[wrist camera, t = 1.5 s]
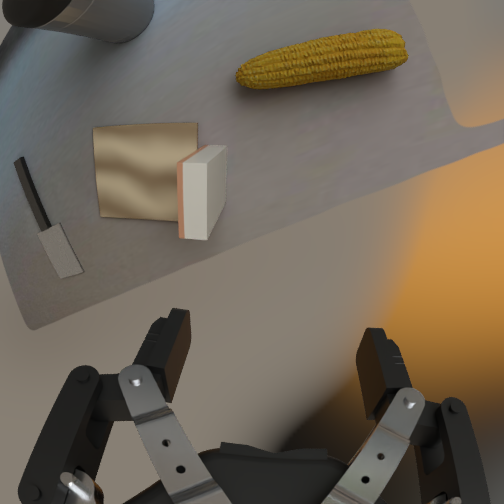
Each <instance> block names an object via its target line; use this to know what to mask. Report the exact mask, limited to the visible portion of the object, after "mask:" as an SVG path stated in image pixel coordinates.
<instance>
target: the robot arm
mask: <svg viewBox="0 0 504 504" xmlns="http://www.w3.org/2000/svg"><path fill="white" fill-rule="evenodd" d="M2 8H3V14H4V17H5V19H6V20H7V21H8V22H9V23H10V24H12V25H14V26H17V27H25V28H34V29H42V30H49V31H56V32H62V33H68V34H74V35H79V36H84V37H89V38H94V39H98V40H102V41H105V42H111V43H123V42H126V41H129V40H131V39H133V38H135V37H136V36H138V35H139V34H140V33H141V32H142V31H143V30H144V29H145V28H146V27H147V25H148V24H149V22H150V20H151V18H152V16H153V13H154V1H153V0H3V3H2ZM190 343H191V325H190V312H189V310H183V309H177V308H172V310H171V312H170V314H169V316H168V318H162V317H160V318H159V319H158V320H156V321H155V322H154V323H153V324H152V325H151V327H150V330H149V332H148V334H147V335H146V337H145V340H144V342H143V344H142V346H141V348H140V350H139V352H138V354H137V356H136V358H135V360H134V362H133V364H132V365H130V366H127V367H125V368H124V369H123V370H122V371H121V372H120V373H118V374H101V375H99V373H98V371H97V370H96V369H95V368H93V367H91V366H87V365H85V366H79V367H76V368H75V369H73V370H72V371H71V372H70V374H69V376H68V378H67V380H66V382H65V383H64V385H63V388H62V390H61V391H60V394H59V395H58V397H57V399H56V401H55V403H54V405H53V407H52V410H51V412H50V414H49V416H48V418H47V420H46V422H45V424H44V426H43V429H42V431H41V433H40V436H39V438H38V440H37V442H36V444H35V447H34V449H33V451H32V454H31V456H30V459H29V461H28V463H27V466H26V468H25V471H24V473H23V476H22V479H21V481H20V484H19V487H18V496H19V499H20V501H21V503H22V504H104V494H103V491H102V489H101V488H100V487H99V485H98V484H97V483H96V482H95V478H96V475H97V472H98V469H99V465H100V462H101V459H102V456H103V453H104V450H105V447H106V444H107V441H108V438H109V434H110V432H111V428H112V426H113V423H114V421H134V423H135V426H136V428H137V431H138V433H139V435H140V437H141V440H142V442H143V444H144V446H145V448H146V450H147V453H148V455H149V457H150V459H151V461H152V463H153V465H154V467H155V469H156V471H157V473H158V475H159V477H160V480H158V481H157V482H155V483H154V484H153V485H151V486H150V487H148V488H147V489H145V490H143V491H142V492H140V493H139V494H137V495H136V496H134V497H133V498H131V499H130V500H128V501H126V502H125V503H123V504H387V503H386V502H385V501H384V500H383V499H382V498H381V497H380V496H379V495H380V494H381V492H382V490H383V489H384V487H385V486H386V484H387V483H388V481H389V479H390V478H391V476H392V474H393V473H394V471H395V469H396V467H397V466H398V464H399V462H400V460H401V459H402V457H403V455H404V453H405V451H406V449H407V447H408V445H409V444H411V445H414V450H415V456H416V463H417V469H418V477H419V485H420V494H421V503H422V504H490V498H489V492H488V487H487V482H486V478H485V474H484V469H483V465H482V461H481V457H480V453H479V449H478V445H477V442H476V438H475V435H474V431H473V428H472V425H471V421H470V418H469V415H468V412H467V409H466V406H465V405H464V403H463V402H462V401H461V400H459V399H457V398H453V397H449V398H446V399H445V400H444V401H443V402H442V403H441V404H439V403H434V402H430V401H426V400H425V399H424V397H423V395H422V394H421V393H420V392H419V391H418V390H416V389H413V388H412V384H411V382H410V378H409V375H408V372H407V370H406V367H405V364H404V361H403V358H402V357H401V353H400V350H399V347H398V346H397V345H396V344H395V343H394V341H393V340H391V339H390V340H389V339H387V337H386V334H385V332H384V330H383V329H382V328H367V329H366V330H365V332H364V335H363V338H362V340H361V343H360V346H359V348H358V350H357V354H356V366H357V370H358V375H359V380H360V385H361V391H362V396H363V401H364V406H365V411H366V418H367V420H375V421H376V425H375V427H374V428H373V430H372V431H371V433H370V434H369V436H368V437H367V439H366V440H365V442H364V443H363V444H362V446H361V447H360V449H359V450H358V452H357V453H356V454H355V456H354V457H353V458H352V460H351V461H350V462H349V463H348V465H347V464H345V463H344V462H342V461H341V460H338V459H336V458H333V457H330V456H327V449H298V450H292V451H286V452H281V453H271V452H268V451H264V450H261V449H258V448H255V447H252V446H249V445H242V444H233V443H225V442H221V446H220V448H217V449H210V450H206V451H203V452H200V453H198V454H197V453H196V451H195V449H194V448H193V446H192V444H191V442H190V441H189V439H188V437H187V436H186V434H185V432H184V430H183V429H182V427H181V425H180V423H179V422H178V420H177V418H176V416H175V414H174V412H173V411H172V409H169V407H168V406H167V404H166V402H168V403H172V400H173V397H174V394H175V391H176V387H177V384H178V381H179V378H180V375H181V372H182V369H183V366H184V363H185V360H186V357H187V354H188V351H189V348H190Z"/></svg>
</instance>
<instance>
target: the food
mask: <svg viewBox="0 0 504 504" xmlns="http://www.w3.org/2000/svg"><path fill="white" fill-rule="evenodd" d="M404 47H405V41H404V40H403V39H402V36H401V35H399V34H398V33H396V32H394V31H391V30H387V29H372V30H365V31H364V30H363V31H361V32H357V33H348V34H342V35H341V34H340V35H336V36H329V37H323V38H319V39H316V40H310V41H307V42H304V43H300V44H295V45H291V46H287V47H284V48H280V49H277V50H273V51H269V52H267V53H264V54H262V55H259V56H257V57H255V58H252V59H250V60H249V61H248V62H246V63H245V64H242V65H241V68H238V72H236V75H235V76H236V82H238V83H240V84H241V86H246V87H249V88H252V89H269V88H279V87H280V88H282V87H290V86H296V85H302V84H306V83H312V82H319V81H325V80H332V79H341V78H346V77H350V76H356V75H363V74H368V73H373V72H380V71H385V70H390V69H395V68H396V67H398V66H400V65H402V64H403V63H405V62H406V61H407V59H408V56H409V55H408V54H407V51H406V50H405V48H404Z"/></svg>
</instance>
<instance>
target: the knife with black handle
mask: <svg viewBox="0 0 504 504" xmlns="http://www.w3.org/2000/svg"><path fill="white" fill-rule="evenodd" d="M14 165H15V168H16V171H17V174H18V176H19V179H20V182H21V184H22V187H23V189H24V192H25V194H26V197H27V199H28V202H29V204H30V206H31V209H32V211H33V213H34V216H35V218H36V220H37V222H38V225H39V227H40V229H41V232H39V233H37V235H38V237H39V239H40V241H41V243H42V245H43V247H44V249H45V251H46V253H47V255H48V257H49V259H50V261H51V263H52V265H53V267H54V268H55V270H56V272H57V274H58V276H59V278H60V279H62V278H65V277H69V276H72V275H76V274H79V273H83V272H84V269H83V268H82V266H81V264H80V262H79V260H78V258H77V256H76V254H75V252H74V250H73V248H72V246H71V244H70V242H69V240H68V238H67V236H66V234H65V232H64V230H63V227H62V225H61V223H58V224H56V225H54V226H51V223H50V221H49V219H48V217H47V215H46V212H45V210H44V208H43V205H42V203H41V201H40V198H39V196H38V193H37V191H36V188H35V186H34V183H33V181H32V178H31V175H30V173H29V170H28V167H27V165H26V162H25V159H24V157H21V158H19V159H18V160H16V161H15V162H14Z"/></svg>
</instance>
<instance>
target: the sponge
mask: <svg viewBox="0 0 504 504" xmlns="http://www.w3.org/2000/svg"><path fill="white" fill-rule="evenodd" d="M226 174H227V146H222V145H204V146H202V147H201V148H199V149H198V150H196V151H194V152H193V153H191V154H189V155H188V156H186V157H185V158H183V159H182V160H180V161H179V162H177V197H178V223H179V238H185V239H198V240H207V239H208V237H209V235H210V233H211V231H212V229H213V227H214V225H215V223H216V221H217V219H218V217H219V215H220V213H221V211H222V209H223V207H224V205H225V203H226Z"/></svg>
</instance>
